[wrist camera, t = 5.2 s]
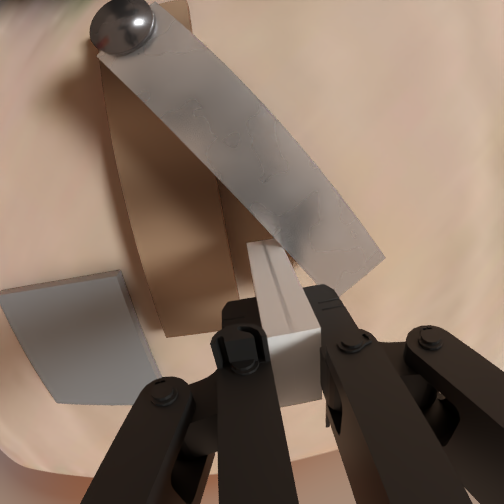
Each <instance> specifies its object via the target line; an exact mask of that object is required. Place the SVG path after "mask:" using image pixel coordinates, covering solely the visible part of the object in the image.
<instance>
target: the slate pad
mask: <svg viewBox="0 0 504 504" xmlns="http://www.w3.org/2000/svg"><path fill="white" fill-rule="evenodd" d="M0 305H1V307H2V309H3V312H4V314H5V316H6V318H7V320H8V322H9V324H10V326H11V328H12V330H13V332H14V334H15V336H16V337H17V339H18V341H19V343H20V345H21V347H22V348H23V350H24V352H25V354H26V356H27V357H28V359H29V361H30V362H31V364H32V366H33V367H34V369H35V371H36V372H37V374H38V375H39V377H40V379H41V380H42V382H43V383H44V385H45V386H46V388H47V389H48V391H49V392H50V394H51V395H52V397H53V398H54V400H55V401H56V403H62V404H81V405H133V404H134V403H135V401H136V399H137V397H138V395H139V394H140V392H141V391H142V389H143V388H144V387H145V386H146V385H147V384H149V383H150V382H152V381H153V380H156V379H159V378H162V376H161V374H160V371H159V369H158V367H157V365H156V362H155V360H154V358H153V355H152V353H151V350H150V348H149V346H148V343H147V341H146V338H145V336H144V333H143V331H142V328H141V326H140V323H139V320H138V318H137V315H136V312H135V310H134V307H133V304H132V301H131V299H130V296H129V293H128V290H127V287H126V284H125V281H124V278H123V275H122V272H121V270H117V271H111V272H105V273H99V274H93V275H87V276H82V277H76V278H70V279H64V280H58V281H53V282H47V283H41V284H35V285H30V286H24V287H18V288H13V289H7V290H2V291H1V292H0Z"/></svg>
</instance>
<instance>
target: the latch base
mask: <svg viewBox="0 0 504 504" xmlns="http://www.w3.org/2000/svg"><path fill="white" fill-rule="evenodd" d="M159 5H160V6H161V7H162V8H164V9H165V10H166V11H167V12H168V13H170V14H171V15H172V16H173V17H174V18H175V19H176V20H178V21H179V22H180V23H181V24H182V25H183V26H184V27H186V28H187V29H188V30H189V31H190V32H191V33H192V26H191V19H190V12H189V6H188V3H187V0H174V1H170V2H166V3H161V4H159ZM192 34H193V33H192ZM98 50H99V49H98ZM100 51H101V50H99V53H100ZM99 60H100V59H99ZM100 69H101V77H102V84H103V92H104V98H105V105H106V111H107V117H108V123H109V129H110V135H111V140H112V145H113V150H114V155H115V160H116V165H117V170H118V174H119V179H120V183H121V188H122V192H123V196H124V200H125V204H126V208H127V212H128V216H129V220H130V224H131V228H132V231H133V235H134V239H135V242H136V246H137V249H138V253H139V256H140V260H141V263H142V266H143V270H144V273H145V276H146V279H147V283H148V286H149V289H150V292H151V295H152V298H153V301H154V304H155V307H156V310H157V313H158V316H159V319H160V322H161V324H162V327H163V330H164V333H165V336H166V338H168V337H177V336H185V335H193V334H200V333H208V332H215V331H219V330H221V329H222V309H223V308H224V306H225V305H226V303H227V302H229V301H235V300H240V299H239V294H238V289H237V284H236V279H235V274H234V269H233V263H232V258H231V253H230V248H229V242H228V237H227V232H226V227H225V221H224V216H223V210H222V205H221V200H220V194H219V189H218V183H217V177H216V176H215V175H214V174H213V173H212V172H211V171H210V169H209V168H208V167H207V166H206V165H205V164H204V163H203V162H202V161H201V160H200V159H199V158H198V157H197V156H196V155H195V154H194V153H193V152H192V151H191V150H190V149H189V148H188V147H187V146H186V145H185V144H184V143H183V142H182V141H181V140H180V139H179V138H178V137H177V136H176V135H175V134H174V133H173V132H172V131H171V130H170V129H169V127H168V126H167V125H166V124H165V123H164V122H163V121H162V120H161V119H160V118H159V117H158V116H157V115H156V114H155V113H154V112H153V111H152V110H151V109H150V108H149V107H148V106H147V105H146V104H145V103H144V102H143V101H142V100H141V99H140V98H139V97H138V96H137V95H136V94H135V93H134V92H133V91H132V90H130V89H129V88H128V87H127V86H126V85H125V84H124V83H123V82H122V81H121V80H120V79H119V78H118V77H117V76H116V75H115V74H114V73H113V72H112V71H111V70H110V69H109V68H108V67H107V66H106V65H105V64H104V63H103V62H102V61H101V60H100Z"/></svg>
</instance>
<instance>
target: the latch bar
mask: <svg viewBox="0 0 504 504" xmlns="http://www.w3.org/2000/svg"><path fill="white" fill-rule="evenodd" d="M90 38H91V41H92V43H93V44H94V46H95V47H96V48H98V49H99V50H101V51H100V53H99V54H98V55H97V57H98V58H99V59H100V60H101V61H102V62H103V63H104V64H105V65H106V66H107V67H108V68H109V69H110V70H111V71H112V72H113V73H114V74H115V75H116V76H117V77H118V78H119V79H120V80H121V81H122V82H123V83H124V84H125V85H126V86H127V87H128V88H129V89H130V90H132V91H133V92H134V93H135V94H136V95H137V96H138V97H139V98H140V99H141V100H142V101H143V102H144V103H145V104H146V105H147V106H148V107H149V108H150V109H151V110H152V111H153V112H154V113H155V114H156V115H157V116H158V117H159V118H160V119H161V120H162V121H163V122H164V123H165V124H166V125H167V126H168V127H169V129H170V130H171V131H172V132H173V133H174V134H175V135H176V136H177V137H178V138H179V139H180V140H181V141H182V142H183V143H184V144H185V145H186V146H187V147H188V148H189V149H190V150H191V151H192V152H193V153H194V154H195V155H196V156H197V157H198V158H199V159H200V160H201V161H202V162H203V163H204V164H205V165H206V166H207V167H208V168H209V169H210V171H211V172H212V173H213V174H214V175H215V176H216V177H217V178H218V179H219V180H220V181H221V182H222V183H223V184H224V185H225V186H226V187H227V188H228V189H229V190H230V191H231V192H232V193H233V195H234V196H235V197H236V198H237V199H238V200H239V201H240V202H241V203H242V204H243V205H244V206H245V207H246V208H247V209H248V210H249V211H250V212H251V214H252V215H253V216H254V217H255V218H256V219H257V220H258V221H259V222H260V223H261V224H262V225H263V226H264V227H265V228H266V230H267V231H268V232H269V233H270V234H271V235H272V236H273V237H274V238H275V239H276V240H277V241H278V242H279V243H280V245H281V246H282V247H283V248H284V249H285V250H286V251H287V252H288V253H289V254H290V255H291V256H292V258H293V259H294V260H295V261H296V262H297V263H298V264H299V265H300V266H301V267H302V268H303V270H304V271H305V272H306V273H307V274H308V275H309V276H310V277H311V278H312V279H313V280H314V282H315V283H316V284H317V285H320V284H325V285H327V286H329V287H330V288H332V289H334V290H335V292H336V293H337V295H338V296H339V297H340V296H341V295H342V294H343V293H345V292H346V291H347V290H348V289H350V288H351V287H352V286H353V285H354V284H356V283H357V282H358V281H359V280H360V279H362V278H363V277H364V276H365V275H366V274H368V273H369V272H370V271H371V270H372V269H373V268H375V267H376V266H377V265H378V264H379V263H380V262H382V261H383V260H384V259H385V256H384V255H383V253H382V252H381V250H380V249H379V247H378V246H377V245H376V243H375V242H374V240H373V239H372V238H371V236H370V235H369V233H368V232H367V230H366V229H365V228H364V226H363V225H362V224H361V222H360V221H359V219H358V218H357V217H356V215H355V214H354V213H353V211H352V210H351V209H350V207H349V206H348V205H347V203H346V202H345V201H344V199H343V198H342V197H341V196H340V194H339V193H338V192H337V190H336V189H335V188H334V186H333V185H332V184H331V183H330V181H329V180H328V179H327V178H326V176H325V175H324V174H323V173H322V171H321V170H320V169H319V168H318V166H317V165H316V164H315V163H314V162H313V160H312V159H311V158H310V157H309V156H308V154H307V153H306V152H305V151H304V150H303V148H302V147H301V146H300V145H299V144H298V142H297V141H296V140H295V139H294V138H293V137H292V135H291V134H290V133H289V132H288V131H287V130H286V129H285V127H284V126H283V125H282V124H281V123H280V122H279V121H278V120H277V118H276V117H275V116H274V115H273V114H272V113H271V112H270V111H269V110H268V109H267V107H266V106H265V105H264V104H263V103H262V102H261V101H260V100H259V99H258V98H257V97H256V96H255V95H254V94H253V93H252V91H251V90H250V89H249V88H248V87H247V86H246V85H245V84H244V83H243V82H242V81H241V80H240V79H239V78H238V77H237V76H236V75H235V74H234V73H233V72H232V71H231V70H230V69H229V68H228V67H227V66H226V65H225V64H224V63H223V62H222V61H221V60H220V59H219V58H218V57H217V56H216V55H215V54H214V53H213V52H212V51H211V50H209V49H208V48H207V47H206V46H205V45H204V44H203V43H202V42H201V41H200V40H199V39H198V38H197V37H196V36H194V35H193V34H192V33H191V32H190V31H189V30H188V29H187V28H186V27H184V26H183V25H182V24H181V23H180V22H179V21H178V20H176V19H175V18H174V17H173V16H172V15H171V14H170V13H168V12H167V11H166V10H165V9H164V8H162V7H161V6H160V5H159V4H158V3H156V2H153V3H152V4H151V5H150V6H149V5H148V3H147V2H146V1H144V0H111V1H110V2H108V3H107V4H105V5H104V6H103V7H102V8H101V9H100V10H99V11H98V12H97V13H96V15H95V16H94V18H93V20H92V23H91V26H90Z"/></svg>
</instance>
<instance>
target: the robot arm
mask: <svg viewBox="0 0 504 504" xmlns="http://www.w3.org/2000/svg"><path fill="white" fill-rule="evenodd" d="M247 249H248V255H249V261H250V268H251V274H252V280H253V286H254V292H255V297H253V298H247V299H241V300H235V301H229V302H227V303H226V305H225V306H224V308H223V309H222V329H221V330H219V331H218V332H217V333H216V334H215V335H214V336H213V337H212V340H211V343H210V345H211V348H212V352H213V355H214V359H215V362H216V365H217V370H216V371H215V372H214V373H213V374H212V375H210V376H209V377H207V378H205V379H203V380H200V381H198V382H195V383H192V384H189V385H188V383H186V382H185V381H184V380H182V379H181V378H177V377H162V378H159V379H156V380H153V381H152V382H150V383H149V384H147V385H146V386H145V387H144V388H143V389H142V391H141V392H140V394H139V395H138V397H137V399H136V401H135V403H134V404H133V406H132V408H131V410H130V412H129V413H128V415H127V417H126V419H125V421H124V423H123V424H122V426H121V428H120V430H119V432H118V433H117V435H116V437H115V439H114V441H113V443H112V445H111V446H110V448H109V450H108V452H107V454H106V456H105V458H104V459H103V461H102V463H101V465H100V467H99V469H98V471H97V473H96V474H95V476H94V478H93V480H92V482H91V484H90V486H89V488H88V490H87V492H86V494H85V495H84V497H83V499H82V501H81V503H80V504H200V503H201V499H202V496H203V492H204V489H205V486H206V482H207V479H208V476H209V473H210V469H211V466H212V463H213V459H214V456H215V452H217V451H218V486H219V487H218V488H219V504H299V502H298V497H297V493H296V487H295V482H294V477H293V472H292V467H291V462H290V457H289V451H288V446H287V441H286V436H285V431H284V426H283V421H282V416H281V411H280V407H286V406H291V405H296V404H302V403H306V402H311V401H316V400H320V399H322V391H323V393H324V396H325V399H326V427H330V425H331V428H332V431H333V434H334V437H335V440H336V443H337V446H338V449H339V452H340V455H341V458H342V461H343V463H344V467H345V470H346V473H347V476H348V479H349V482H350V485H351V488H352V491H353V495H354V498H355V501H356V504H472V502H471V500H470V498H469V496H468V494H467V492H466V490H465V488H466V489H467V490H468V491H469V492H470V494H471V495H472V496H473V497H474V498H475V499H476V500H477V501H478V502H479V503H480V504H504V372H503V371H502V370H500V369H499V368H498V367H496V366H495V365H494V364H492V363H491V362H489V361H488V360H487V359H485V358H484V357H483V356H481V355H480V354H478V353H477V352H476V351H474V350H473V349H471V348H470V347H469V346H467V345H466V344H464V343H463V342H462V341H460V340H459V339H457V338H456V337H455V336H453V335H452V334H450V333H449V332H447V331H446V330H444V329H442V328H440V327H436V326H431V325H427V326H420V327H417V328H414V329H413V330H412V331H410V332H409V333H408V336H407V338H406V342H390V343H388V342H378V341H377V340H376V338H375V337H374V336H373V335H372V334H371V333H369V332H367V331H365V330H362V329H358V327H357V325H356V324H355V322H354V320H353V319H352V317H351V316H350V314H349V312H348V311H347V309H346V308H345V306H344V304H343V303H342V301H341V300H340V299H339V296H338V295H337V293H336V292H335V290H334V289H332V288H330V287H329V286H327V285H325V284H320V285H315V286H310V287H304V288H302V286H301V284H300V282H299V280H298V277H297V275H296V273H295V271H294V269H293V267H292V265H291V263H290V261H289V259H288V256H287V254H286V252H285V250H284V248H283V247H282V246H281V245H280V243H279V242H278V241H277V240H276V239H275V238H273V239H267V240H261V241H255V242H249V243H247ZM439 392H440V393H439ZM464 487H465V488H464Z"/></svg>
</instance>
